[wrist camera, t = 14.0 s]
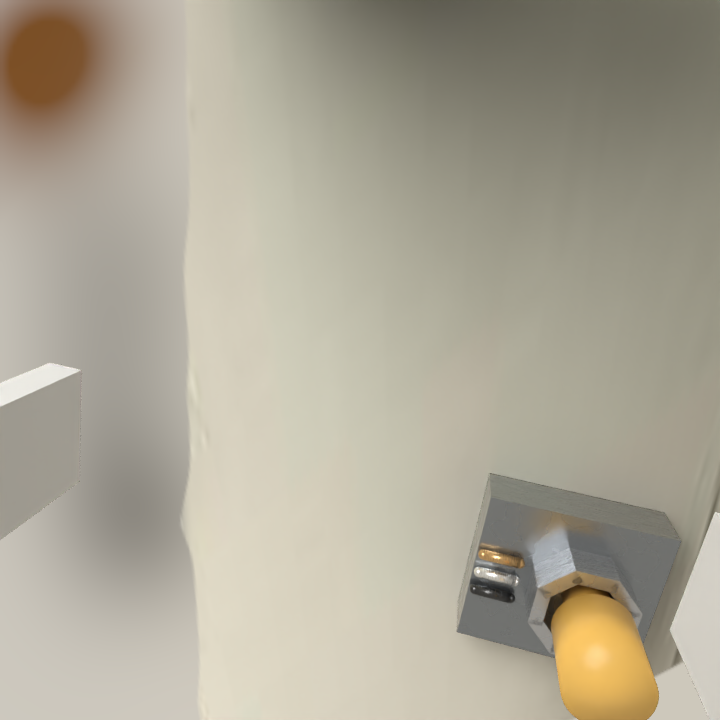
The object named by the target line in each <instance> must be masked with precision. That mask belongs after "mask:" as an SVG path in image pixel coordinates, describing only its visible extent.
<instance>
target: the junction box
mask: <svg viewBox="0 0 720 720" xmlns="http://www.w3.org/2000/svg"><path fill="white" fill-rule="evenodd" d="M680 543H681V540H680V538H679V537H678V535H677V533H676V532H675V530H674V528H673V527H672V525H671V523H670V521H669V520H668V518H667V516H666V515H665V513H663V512H658V511H654V510H650V509H645V508H641V507H636V506H632V505H628V504H623V503H619V502H614V501H610V500H606V499H601V498H597V497H592V496H588V495H583V494H579V493H575V492H570V491H566V490H561V489H557V488H553V487H548V486H544V485H539V484H535V483H531V482H526V481H522V480H517V479H513V478H508V477H504V476H500V475H495V474H491V473H490V474H489V478H488V482H487V486H486V490H485V494H484V498H483V502H482V506H481V510H480V514H479V518H478V522H477V526H476V531H475V535H474V539H473V543H472V547H471V551H470V555H469V559H468V563H467V567H466V571H465V575H464V579H463V583H462V587H461V591H460V595H459V599H458V617H457V632H459V633H462V634H466V635H470V636H474V637H477V638H481V639H485V640H489V641H493V642H496V643H500V644H504V645H508V646H512V647H515V648H519V649H523V650H527V651H531V652H534V653H538V654H542V655H546V656H550V657H553V658H555V652H554V645H553V638H552V632H551V621H552V617H553V615H554V613H555V611H556V610H557V608H558V607H559V606H560V605H561V604H562V603H563V601H562V592H563V591H565V590H567V589H569V588H571V587H574V586H576V585H583V586H587V587H591V588H595V589H599V590H603V591H607V592H608V594H609V597H610V598H612V599H614V600H616V601H618V602H619V603H621V604H622V605H623V606H625V607H626V608H627V609H628V611H629V612H630V613H631V615H632V616H633V618H634V621H635V623H636V626H637V629H638V632H639V635H640V638H641V641H642V644H643V643H644V640H645V637H646V635H647V632H648V629H649V627H650V624H651V621H652V619H653V616H654V613H655V610H656V608H657V605H658V602H659V600H660V597H661V594H662V592H663V589H664V586H665V583H666V581H667V578H668V575H669V573H670V570H671V567H672V565H673V562H674V559H675V557H676V554H677V551H678V548H679V546H680Z"/></svg>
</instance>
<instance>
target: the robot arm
mask: <svg viewBox="0 0 720 720" xmlns="http://www.w3.org/2000/svg"><path fill="white" fill-rule="evenodd" d="M81 375H82V370H79V369H75V368H70V367H66V366H61V365H57V364H52V363H48V364H46V365H43V366H41V367H38V368H36V369H34V370H31V371H29V372H26V373H24V374H21V375H19V376H16V377H14V378H11V379H9V380H6V381H4V382H1V383H0V540H1V539H2V538H4V537H5V536H6V535H8V534H9V533H10V532H12V531H13V530H15V529H16V528H17V527H19V526H20V525H21V524H23V523H24V522H25V521H27V520H28V519H30V518H31V517H32V516H34V515H35V514H36V513H38V512H39V511H40V510H42V509H43V508H45V507H46V506H47V505H49V504H50V503H51V502H53V501H54V500H56V499H57V498H58V497H60V496H61V495H62V494H64V493H65V492H66V491H68V490H69V489H70V488H72V487H73V486H75V485H76V484H77V483H79V482H80V430H81ZM670 632H671V634H672V637H673V639H674V641H675V643H676V646H677V648H678V650H679V652H680V655H681V657H682V659H683V661H684V664H685V666H686V668H687V670H688V673H689V675H690V677H691V679H692V682H693V684H694V686H695V688H696V690H697V693H698V695H699V697H700V700H701V702H702V704H703V706H704V709H705V711H706V713H707V715H708V718H709V720H720V513H717V512H715V513H714V516H713V518H712V521H711V524H710V526H709V529H708V531H707V534H706V537H705V539H704V542H703V544H702V547H701V550H700V552H699V555H698V557H697V560H696V563H695V565H694V568H693V571H692V573H691V576H690V578H689V581H688V584H687V586H686V589H685V591H684V594H683V597H682V599H681V602H680V604H679V607H678V610H677V612H676V615H675V617H674V620H673V623H672V625H671V628H670Z"/></svg>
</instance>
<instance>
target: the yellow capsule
mask: <svg viewBox="0 0 720 720" xmlns="http://www.w3.org/2000/svg"><path fill="white" fill-rule="evenodd" d="M562 601H563V603H562V604H561V605H560V606H559V607H558V608H557V610H556V611H555V613H554V615H553V617H552V621H551V632H552V638H553V645H554V652H555V659H556V665H557V672H558V679H559V685H560V692H561V697H562V700H563V702H564V705H565V706H566V708H567V709H568V710H569V712H570V713H571V714H572V715H573V716H574V717H576V718H577V719H578V720H647V719H648V718H649V717H650V716H651V715H652V714H653V713H654V711H655V709H656V707H657V704H658V700H659V691H658V687H657V684H656V681H655V678H654V675H653V672H652V670H651V667H650V664H649V661H648V658H647V655H646V652H645V649H644V646H643V644H642V641H641V638H640V635H639V632H638V629H637V626H636V623H635V621H634V618H633V616H632V615H631V613H630V612H629V611H628V609H627V608H626V607H625V606H623V605H622V604H621V603H619V602H618V601H616V600H614V599H612V598H610V597H609V594H608V592H607V591H603V590H599V589H595V588H591V587H587V586H583V585H576V586H574V587H571V588H569V589H567V590H565V591H563V592H562Z"/></svg>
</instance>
